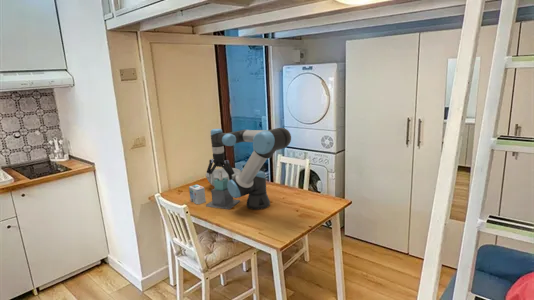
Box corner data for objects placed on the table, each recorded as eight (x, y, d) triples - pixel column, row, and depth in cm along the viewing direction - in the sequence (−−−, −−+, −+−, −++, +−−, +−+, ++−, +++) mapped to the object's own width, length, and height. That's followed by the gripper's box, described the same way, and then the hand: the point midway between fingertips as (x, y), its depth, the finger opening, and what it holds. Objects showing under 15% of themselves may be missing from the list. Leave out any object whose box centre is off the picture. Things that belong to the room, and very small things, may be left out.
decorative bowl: (203, 186, 264) (201, 171, 261) (235, 180, 274) (233, 166, 272) (212, 196, 240) (211, 180, 237) (247, 189, 250) (245, 173, 248)
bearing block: (240, 201, 225) (238, 186, 223) (229, 209, 213) (227, 193, 211) (217, 199, 233) (216, 183, 231) (206, 206, 221) (204, 190, 218)
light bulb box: (190, 201, 233) (188, 186, 230) (198, 198, 237) (197, 184, 234) (197, 204, 225) (195, 189, 222) (206, 202, 229) (204, 187, 226)
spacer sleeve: (228, 187, 222) (227, 178, 221) (223, 190, 216) (222, 181, 215) (220, 186, 225) (219, 177, 223) (214, 189, 219) (214, 180, 218)
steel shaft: (224, 194, 222) (222, 171, 219) (222, 195, 220) (220, 172, 216) (221, 193, 223) (219, 170, 220) (219, 195, 221) (217, 171, 218)
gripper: (199, 153, 217) (202, 184, 222) (231, 154, 207) (234, 187, 211) (205, 150, 224) (209, 180, 229) (237, 152, 213) (240, 183, 218)
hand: (221, 183), depth 220 cm, fingers open, 13 cm apart
